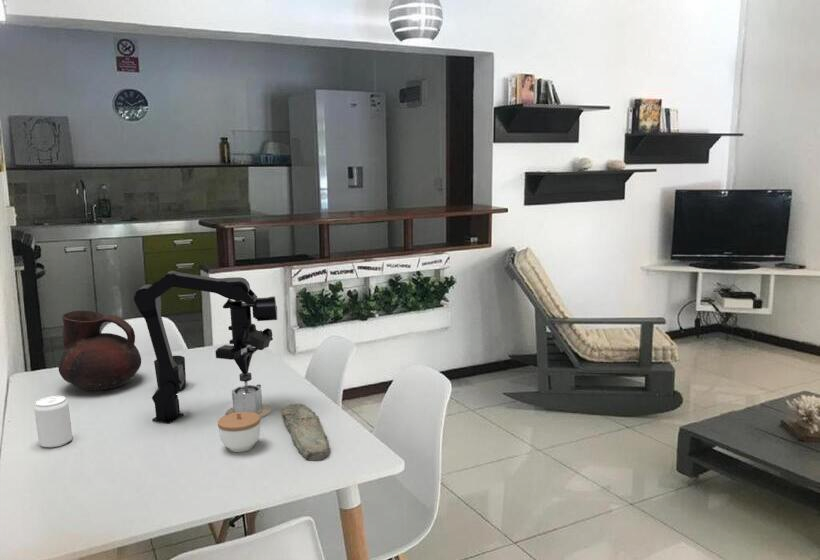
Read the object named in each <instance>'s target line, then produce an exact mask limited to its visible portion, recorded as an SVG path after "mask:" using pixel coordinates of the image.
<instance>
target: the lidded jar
mask: <svg viewBox="0 0 820 560" xmlns="http://www.w3.org/2000/svg"><path fill="white" fill-rule="evenodd" d="M217 426H218V433H219V438H220V441H221V442H222V444H223V445H224V446H225V447H226V448H228V449H229V451H230V452H234V453H241V452H242V453H243V452H246V451H250V450H251V449H253V447H254V445H255V444H256V443H257V441H258V440H259V437H260V435H261V434H260V433H261V418H260V416H259V415H258V414H257V413H254V412H235V413H231V414H227V415H225V414H224V415H223V416H221V417H220V418H219V419H218V420H217Z"/></svg>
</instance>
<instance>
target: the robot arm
mask: <svg viewBox="0 0 820 560" xmlns="http://www.w3.org/2000/svg"><path fill="white" fill-rule="evenodd" d="M171 288H179V289H180V288H181V289H186V290H187V289H188V290H194V291H200V292H206V293H214V294H217V295H220V296H221V297H224V298H226V299H227V300H226V302H225V303H224V304H223V305H222V308H223V309H229V313H230V325H229V326H228V330H229V331H231V337H232V339H230V340H228V341H229V344H225V345H221V346H220V347H218V348H216V350H215V359H221V360H234V362H235V363H236V365H237V367H238V368H239V370H240V371H241V373H243V374H247V373H248V372H249V369H250V365H251V361H252V357H253V355H254V354H255V353H256V352H257V351H258V350H259V351H263V350H264V349H266V348H269V347H270V343H271V342H272V341H273V340H274V338H273V331H272V329H271V328H269V327H267V328H265V329H263V330H261V329H260V330H258V329H257V325H256V324H255V323H253V322H252V318H253V319H255V320H256V321H257V322H265V321H267V322H268V321H278V305H277V301H276V296H269V297H258V296H257V294H256V293H255V292H254V291H253V290H252V289H251V285H250V283H249V281H248V280H247V279H246V278H244V277H241V276H238V277H235V276H234V277H233V276H232V277H223V278H217V277H211V276H204V275H199V274H193V273H184V272H180V271H176V270H170V271H168V272H167V273H166V274H164V276H162V277H160V279H158V280H157V281H155V282H154V283H153V284H151V283H150V284H149V283H148V284H144V285H143V286H142V287H139V289H137V290H136V292H135V293H134V295H133V302H134V304H135V306H136V308H137V310H138V312H139V313H140V315H141V316H142V317H143V318H144V320H145V323H146V327H147V330H148V334H149V338H150V341H151V345H152V347H153V351H154V355H155V357H156V359H155V360H157V362H158V366H159V375H158V380H159V387H158V386H157V389H156V390H155V392H154V393H153V394H152V397H151V399H152V401H153V403H154V408H155V409H154V410H155V416H154V417H152V418H151V420H152V422H156V423H157V422H158V423H165V424H171V423H173V422H175V421H176V420H178V419H179V418H182V417H183V416H185V415H184V414H185V413H182V412H181V410H180V409H181V408H180V401H179V400H180V399H179V395H178V394H179V392H181V391H180V389H181V387H182V385H183V383H184V379H185V377H186V375H185V374H184V372H183V366H182V364H180V365H177V364H176V363H175V361H174V360H173V356H174V355H173V353H172V349H171V347H170V342H169V338H168V336H167V332H166V329H165V328H166V327H165V326H164V325H165V324H164V321H163V318H162V299H161V296H162V295H163V294H164V293H166V292H168V290H170V289H171ZM251 308H252V310H251ZM186 378H187V377H186Z"/></svg>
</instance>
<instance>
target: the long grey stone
mask: <svg viewBox="0 0 820 560" xmlns="http://www.w3.org/2000/svg"><path fill="white" fill-rule="evenodd" d="M281 417H282V420H283V423H284V424H285V427H286V428H287V430H288V432H289V434H290V437H291V441H292V443H293V444H294V445H295V446H296V448H297V450H298V452H299V454H300V455H301V456H302V457H303V458H305V459H307V460H309V461H321V460H324V459H327V457H328V454H329V453H330V449H329V447H330V443H329V441H328V436H327V435H326V433H325V431H324V428H323V426H322V424H321V421H320V418H319V415H316V412H314V410H312V408H310V407H309V406H307V405H306V404H303V403H289V404H288V405H287V406H283V408H282V409H281Z"/></svg>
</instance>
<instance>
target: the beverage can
mask: <svg viewBox="0 0 820 560" xmlns="http://www.w3.org/2000/svg"><path fill="white" fill-rule="evenodd" d="M33 409H34V410H33V411H34V416H35V418H34V419H35V425H36V432H37V438H38V439H37V440H38V445H39V446H40V447H43V448H57V447H61V446H64V445H66V444H68V443H69V442H71V441H72V439H73V430H72V422H71V412H70V406H69V402H68V400H67V398H66V397H65V396H63V395H52V396H46V397H42V398H40V399H37V401H36V402H35V405H34V408H33Z"/></svg>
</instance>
